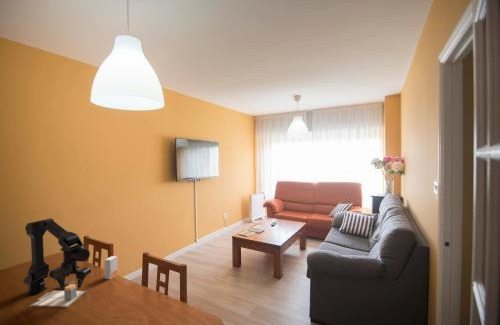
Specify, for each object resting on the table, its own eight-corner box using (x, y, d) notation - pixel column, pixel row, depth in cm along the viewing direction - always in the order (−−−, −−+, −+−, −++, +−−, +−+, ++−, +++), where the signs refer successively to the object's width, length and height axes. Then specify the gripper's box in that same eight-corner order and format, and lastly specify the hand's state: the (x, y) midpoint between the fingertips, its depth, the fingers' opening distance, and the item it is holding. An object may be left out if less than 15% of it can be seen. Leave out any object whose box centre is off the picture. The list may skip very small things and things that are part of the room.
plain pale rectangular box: (57, 288, 132) (57, 284, 132) (61, 285, 135) (61, 281, 135) (71, 287, 133) (71, 283, 133) (74, 284, 136) (74, 280, 136)
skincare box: (110, 279, 142) (110, 260, 141) (104, 278, 143) (104, 259, 142) (117, 274, 148) (117, 256, 147) (112, 274, 148) (111, 255, 148)
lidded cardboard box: (64, 300, 121) (64, 288, 120) (70, 296, 124) (69, 284, 124) (71, 300, 120) (70, 288, 120) (76, 296, 124) (76, 284, 124)
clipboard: (28, 306, 116) (28, 304, 116) (53, 290, 130) (53, 288, 130) (67, 307, 115) (67, 305, 115) (87, 291, 129) (87, 289, 129)
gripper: (38, 265, 114) (39, 296, 114) (75, 266, 113) (75, 297, 114) (58, 256, 125) (58, 284, 126) (91, 256, 124) (92, 285, 125)
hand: (70, 287), depth 122 cm, fingers open, 9 cm apart
